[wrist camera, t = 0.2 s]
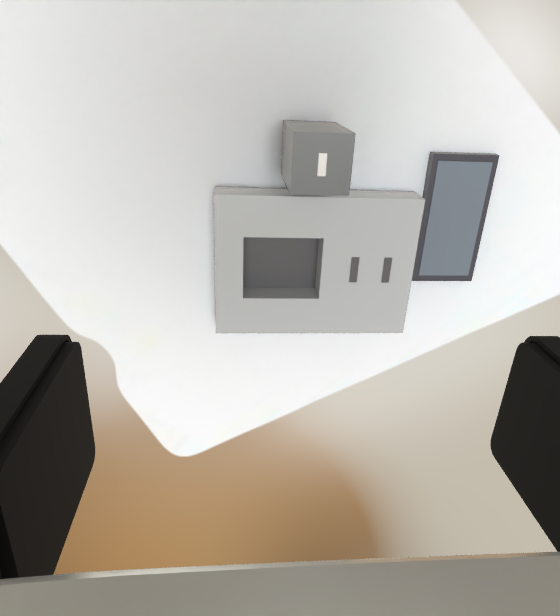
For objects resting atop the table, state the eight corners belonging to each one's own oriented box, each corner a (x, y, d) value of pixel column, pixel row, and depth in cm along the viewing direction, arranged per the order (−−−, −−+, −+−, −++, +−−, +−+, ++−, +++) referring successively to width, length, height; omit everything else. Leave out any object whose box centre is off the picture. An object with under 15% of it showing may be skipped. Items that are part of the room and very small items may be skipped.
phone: (428, 151, 44) (434, 153, 43) (492, 153, 45) (499, 155, 44) (408, 276, 50) (412, 281, 48) (466, 276, 50) (471, 281, 49)
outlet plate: (214, 186, 44) (213, 195, 41) (414, 191, 45) (425, 199, 43) (216, 318, 49) (215, 333, 47) (393, 318, 51) (402, 333, 48)
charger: (283, 120, 42) (293, 131, 35) (335, 122, 42) (355, 133, 35) (281, 173, 44) (290, 194, 37) (330, 174, 44) (349, 196, 37)
